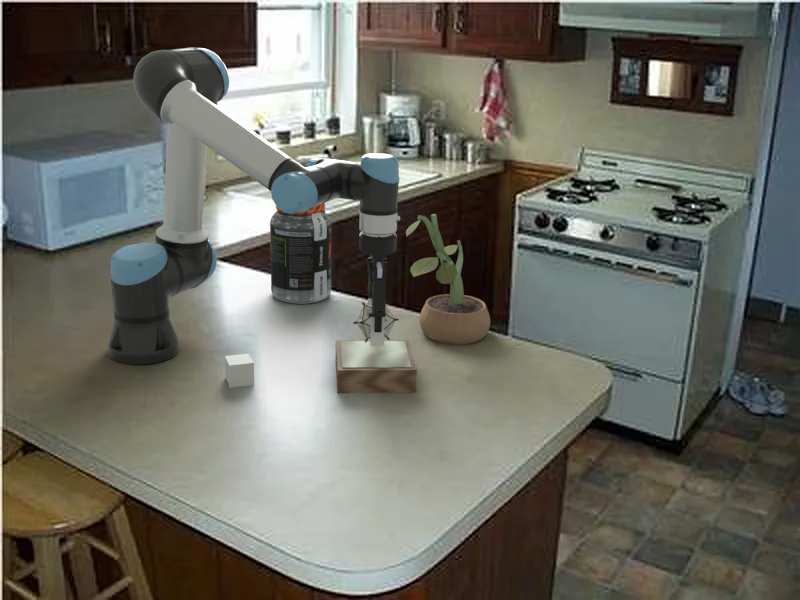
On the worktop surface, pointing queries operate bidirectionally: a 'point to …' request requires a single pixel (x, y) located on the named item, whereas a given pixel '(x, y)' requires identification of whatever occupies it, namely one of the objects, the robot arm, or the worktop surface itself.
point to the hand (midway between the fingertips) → (375, 336)
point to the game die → (365, 321)
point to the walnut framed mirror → (375, 367)
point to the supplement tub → (301, 255)
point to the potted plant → (449, 295)
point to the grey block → (239, 370)
